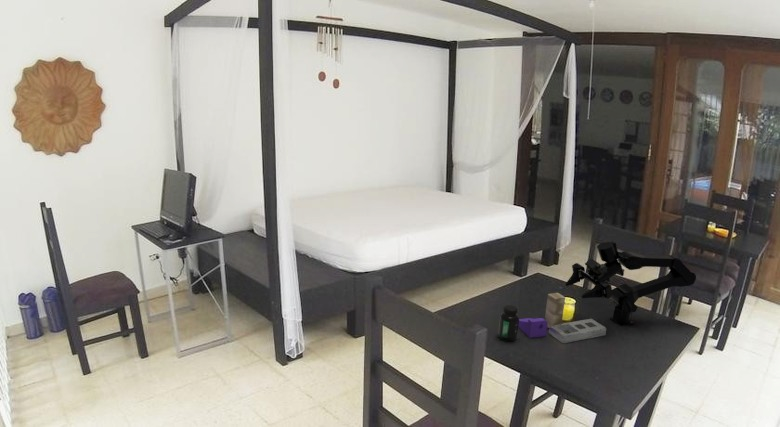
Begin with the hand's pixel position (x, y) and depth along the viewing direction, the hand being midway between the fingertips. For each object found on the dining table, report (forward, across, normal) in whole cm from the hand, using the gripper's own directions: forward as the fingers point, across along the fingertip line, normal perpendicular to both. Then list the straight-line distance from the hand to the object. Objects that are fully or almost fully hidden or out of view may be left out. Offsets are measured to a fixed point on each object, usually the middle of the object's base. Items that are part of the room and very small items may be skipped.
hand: (573, 291), depth 189 cm
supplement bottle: (+32, +1, +2) cm, 32 cm away
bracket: (+22, -1, +7) cm, 23 cm away
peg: (+12, 0, +11) cm, 16 cm away
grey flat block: (+7, +8, +12) cm, 16 cm away
